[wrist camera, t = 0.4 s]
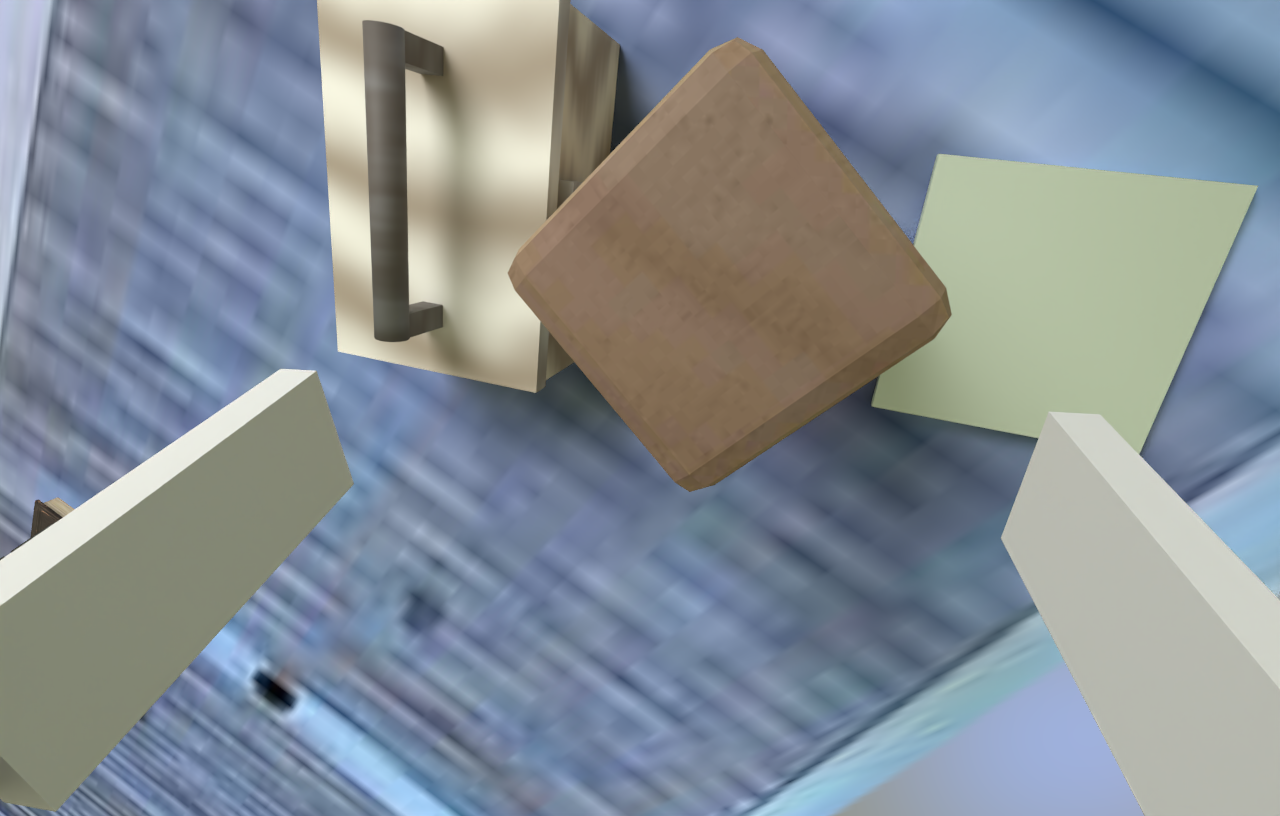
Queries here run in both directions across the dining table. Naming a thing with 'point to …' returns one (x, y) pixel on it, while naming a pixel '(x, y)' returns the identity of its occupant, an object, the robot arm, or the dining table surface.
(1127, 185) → the mat
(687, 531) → the dining table surface
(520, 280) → the wooden block
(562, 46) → the toolbox
